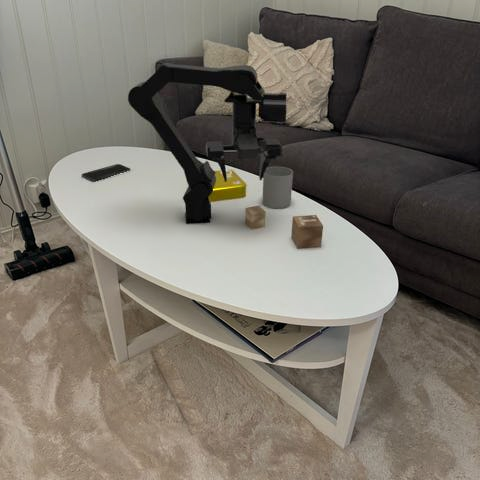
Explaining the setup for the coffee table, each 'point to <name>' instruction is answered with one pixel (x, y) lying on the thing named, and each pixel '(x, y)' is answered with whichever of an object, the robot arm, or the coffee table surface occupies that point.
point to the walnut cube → (307, 231)
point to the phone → (105, 172)
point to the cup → (277, 187)
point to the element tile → (228, 187)
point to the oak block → (255, 217)
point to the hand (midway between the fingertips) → (243, 180)
